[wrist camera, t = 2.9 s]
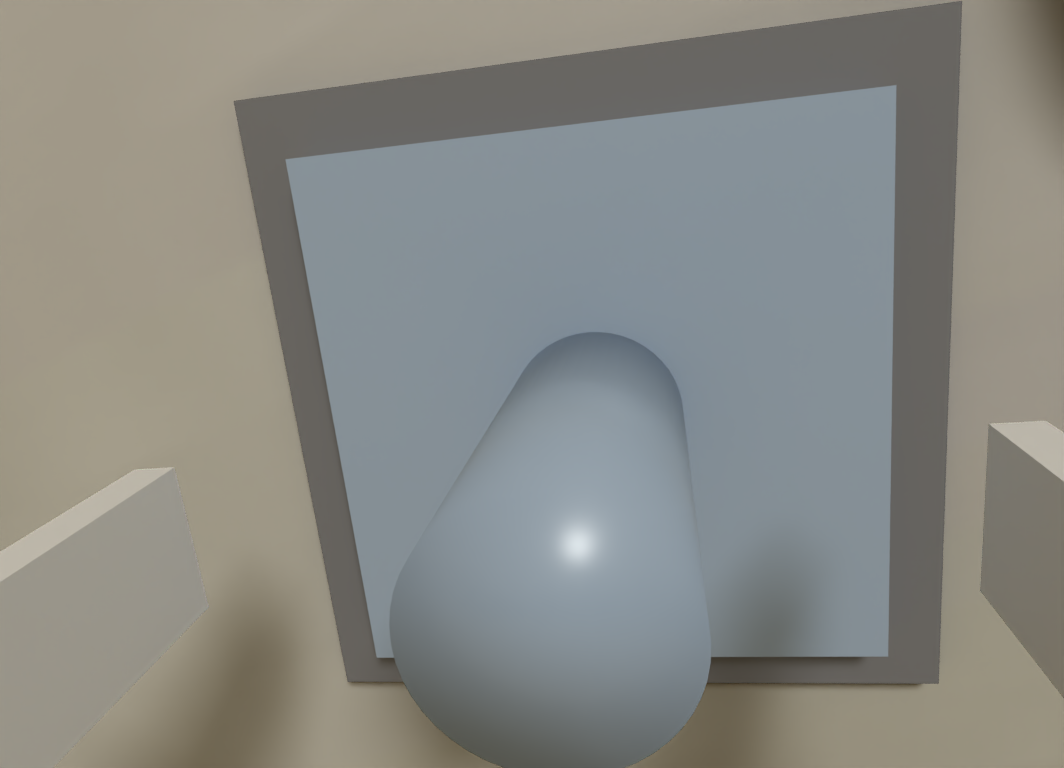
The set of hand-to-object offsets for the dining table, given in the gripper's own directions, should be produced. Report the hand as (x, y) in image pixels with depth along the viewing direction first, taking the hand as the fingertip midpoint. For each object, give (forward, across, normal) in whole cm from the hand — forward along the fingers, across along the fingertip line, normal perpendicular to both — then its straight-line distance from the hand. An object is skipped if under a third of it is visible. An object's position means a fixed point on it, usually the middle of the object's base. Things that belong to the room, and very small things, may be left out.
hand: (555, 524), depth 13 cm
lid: (+7, 0, 0) cm, 7 cm away
